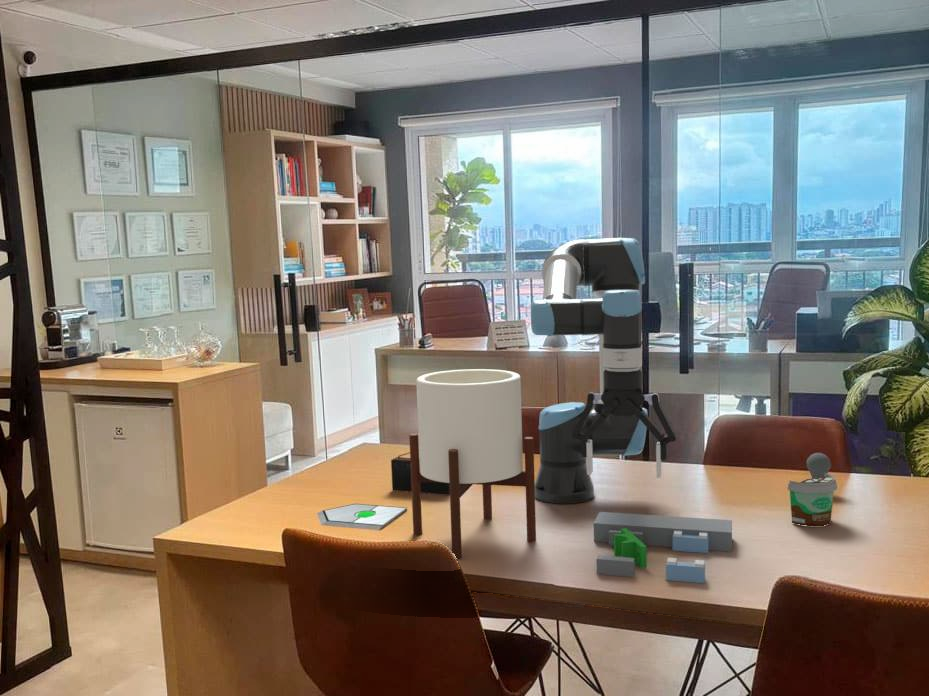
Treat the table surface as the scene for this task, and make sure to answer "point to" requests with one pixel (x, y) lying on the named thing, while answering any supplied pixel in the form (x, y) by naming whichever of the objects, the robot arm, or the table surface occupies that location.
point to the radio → (403, 478)
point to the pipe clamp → (630, 547)
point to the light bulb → (818, 465)
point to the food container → (812, 500)
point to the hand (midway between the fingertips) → (624, 474)
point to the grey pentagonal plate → (360, 516)
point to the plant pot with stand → (470, 441)
